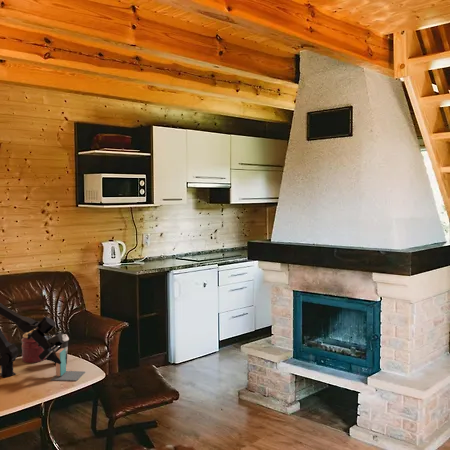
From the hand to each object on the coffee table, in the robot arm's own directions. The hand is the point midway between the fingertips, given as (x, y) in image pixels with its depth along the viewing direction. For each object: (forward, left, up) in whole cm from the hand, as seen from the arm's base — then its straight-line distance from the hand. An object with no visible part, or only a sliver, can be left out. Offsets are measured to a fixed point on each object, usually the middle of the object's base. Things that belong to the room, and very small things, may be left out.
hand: (63, 361), depth 272 cm
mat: (+2, +1, -8) cm, 8 cm away
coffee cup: (-20, +8, -8) cm, 23 cm away
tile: (-1, -1, -7) cm, 7 cm away
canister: (-36, 0, -8) cm, 37 cm away
